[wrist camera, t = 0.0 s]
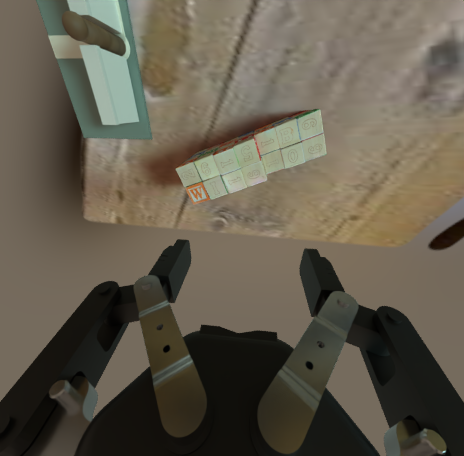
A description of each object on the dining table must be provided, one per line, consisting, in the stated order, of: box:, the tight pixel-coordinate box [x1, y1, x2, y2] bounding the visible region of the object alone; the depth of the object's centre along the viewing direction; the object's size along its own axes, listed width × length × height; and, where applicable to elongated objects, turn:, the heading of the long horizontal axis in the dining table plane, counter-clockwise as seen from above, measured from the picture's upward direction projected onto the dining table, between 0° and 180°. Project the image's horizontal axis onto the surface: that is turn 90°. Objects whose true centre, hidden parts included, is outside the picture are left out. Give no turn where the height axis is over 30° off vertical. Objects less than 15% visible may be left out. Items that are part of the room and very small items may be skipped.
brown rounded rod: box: [62, 11, 126, 56], centre depth 27 cm, size 3×3×10 cm
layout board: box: [36, 0, 152, 139], centre depth 32 cm, size 27×14×1 cm, turn 179°
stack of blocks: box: [176, 109, 326, 205], centre depth 32 cm, size 21×6×12 cm, turn 111°
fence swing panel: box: [79, 45, 139, 125], centre depth 31 cm, size 9×2×7 cm, turn 179°
